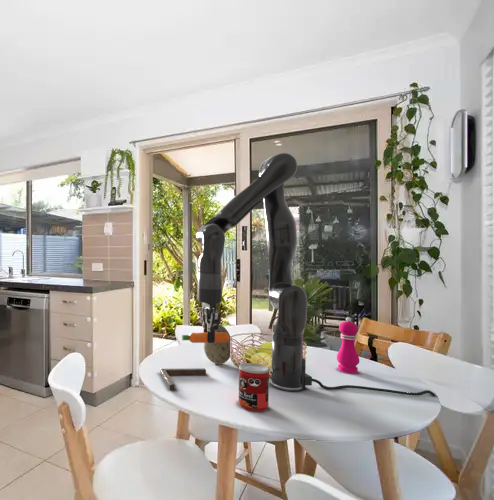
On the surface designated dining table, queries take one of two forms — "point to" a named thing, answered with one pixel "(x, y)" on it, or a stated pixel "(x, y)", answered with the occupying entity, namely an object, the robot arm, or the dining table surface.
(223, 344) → the decorative egg
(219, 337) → the carrot
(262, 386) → the canned food
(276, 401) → the dining table surface
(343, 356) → the pepper mill
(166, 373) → the corner guide
